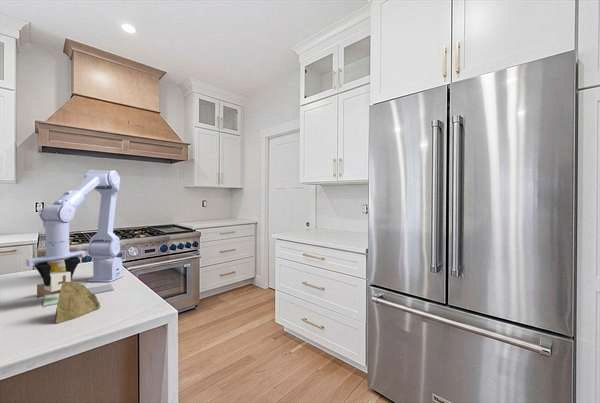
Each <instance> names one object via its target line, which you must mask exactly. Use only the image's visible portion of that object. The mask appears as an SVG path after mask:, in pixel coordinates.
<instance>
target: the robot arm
mask: <svg viewBox="0 0 600 403" xmlns="http://www.w3.org/2000/svg"><path fill="white" fill-rule="evenodd" d="M120 183H121V176H120V175H119V173H118V172H117V171H116V170H93V169H90V170H88V171H87V172H86V173H85V174H84V179H83V180H82V181H81V182H80V183H79V184H78V185H77V187H75V189H69V190H66V191H64V193H63V194H62V195H61V196H60V197H59V198H58V199H56V200H55V201H54V202H53V203H52V204H47V205H45V206H43V207H42V209H41V210H40V213H39V215H38V216H39V218H40V220H41V221H42V226H43V227H44V229H45V230H44V231H45V232H44V233H45V255H41V256H37V257H33V258H32V257H31V258H27V259H26V260H25V261H26V262H25V264H26V267H33V266H34V268H35V269H36V271H38V274H39V275H40V277H41V278H42V281H43V283H44V286H50V270H51V265H49V264H48V263H49V262H55V261H61V260H64V262H65V268H66V271H68V272H71V280H72V281H73V275H74V273H75V270H76V268H77V266H78V265H79V263H81V262H80V261H81V259H80V258H85V257H86V252H87V254H88V256H90V259H92V260H93V261H92V262H93V263H92V265H93V266H92V267H93V268H92V273H93V275H92V277H93V278H89V279H87V282H98V283H99V282H100V283H103V282H106V283H111V282H113V281H116V280H117V279H120V278H123V277H124V274H123V260H122V258H121V257H117V256H118V255H119V253H120V251H121V243H120V237H119V236H118V235H116V234H115V233H114V225H115V215H116V208H117V207H116V206H117V205H116V204H117V200H118V198H117V195H118V193H119V192H120V185H121V184H120ZM93 190H95V191H96V192H99V194H100V195H101V197H100V205H99V212H98V214H99V215H98V222H97V231H96V233H95V234H94V235H92V236H91V237H89V238H90V239H89V243H88V245H87V248H86V250H87V251H85V250H77V251H70V222H71V221H72V220H73V219H74V217H75V213H76V211H77V209H78V208H79V207H80V206H81V205H82V204H83V203H84V202H85V196H87V195H88V194H89V193H90V192H92V191H93Z"/></svg>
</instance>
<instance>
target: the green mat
mask: <svg viewBox="0 0 600 403" xmlns="http://www.w3.org/2000/svg"><path fill="white" fill-rule="evenodd" d="M58 300H59V295H57V296H56V295H55V296H52V297H46V298H45V297H44V298H43V307H48V306H49V307H50V306H54V305H58Z"/></svg>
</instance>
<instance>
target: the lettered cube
mask: <svg viewBox="0 0 600 403" xmlns="http://www.w3.org/2000/svg"><path fill="white" fill-rule="evenodd" d="M69 281H71V272H68V271H65V270H61V271H56V272H51V273H50V286H44V289H45V290H48V291H50V292H53V291H57V290H61V287H62V283H63V282H69Z"/></svg>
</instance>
